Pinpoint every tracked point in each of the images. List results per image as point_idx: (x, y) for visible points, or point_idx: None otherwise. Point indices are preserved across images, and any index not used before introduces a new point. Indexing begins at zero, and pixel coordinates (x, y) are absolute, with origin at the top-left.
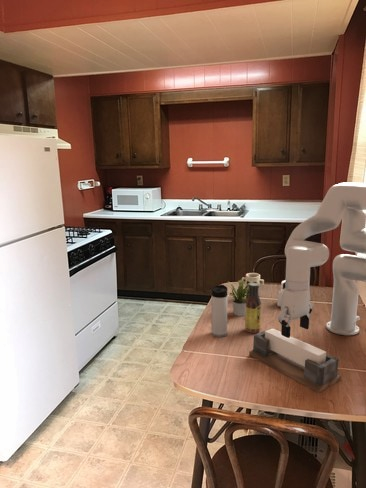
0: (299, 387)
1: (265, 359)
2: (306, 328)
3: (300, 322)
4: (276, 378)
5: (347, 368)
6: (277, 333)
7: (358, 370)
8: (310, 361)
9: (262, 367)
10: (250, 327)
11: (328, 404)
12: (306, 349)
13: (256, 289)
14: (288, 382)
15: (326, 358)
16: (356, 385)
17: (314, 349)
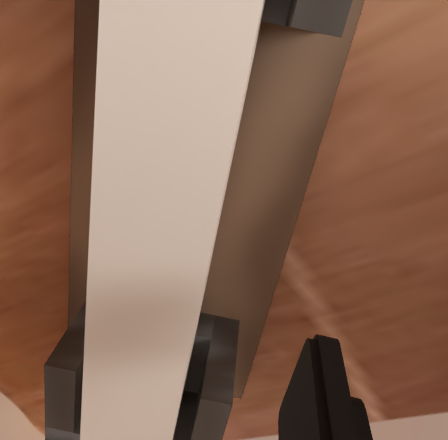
0: (45, 277)
1: (81, 6)
2: (281, 415)
3: (310, 392)
4: (14, 160)
5: (360, 379)
6: (175, 41)
7: (370, 413)
8: (57, 389)
9: (37, 23)
10: None
11: (42, 386)
12: (91, 385)
13: None
14: (37, 223)
15: (194, 421)
16: (239, 426)
17: (136, 421)
